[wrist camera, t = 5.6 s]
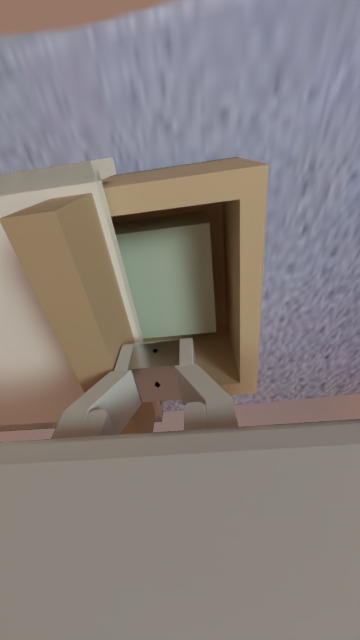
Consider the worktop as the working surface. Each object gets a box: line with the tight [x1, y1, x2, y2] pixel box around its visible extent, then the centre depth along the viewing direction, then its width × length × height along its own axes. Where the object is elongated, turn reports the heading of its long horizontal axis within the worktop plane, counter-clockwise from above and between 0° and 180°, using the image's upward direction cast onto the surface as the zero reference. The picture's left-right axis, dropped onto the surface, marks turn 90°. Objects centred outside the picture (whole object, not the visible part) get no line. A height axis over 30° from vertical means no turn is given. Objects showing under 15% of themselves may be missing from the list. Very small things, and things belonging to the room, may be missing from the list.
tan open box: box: [101, 157, 269, 395], centre depth 16 cm, size 18×12×7 cm, turn 97°
